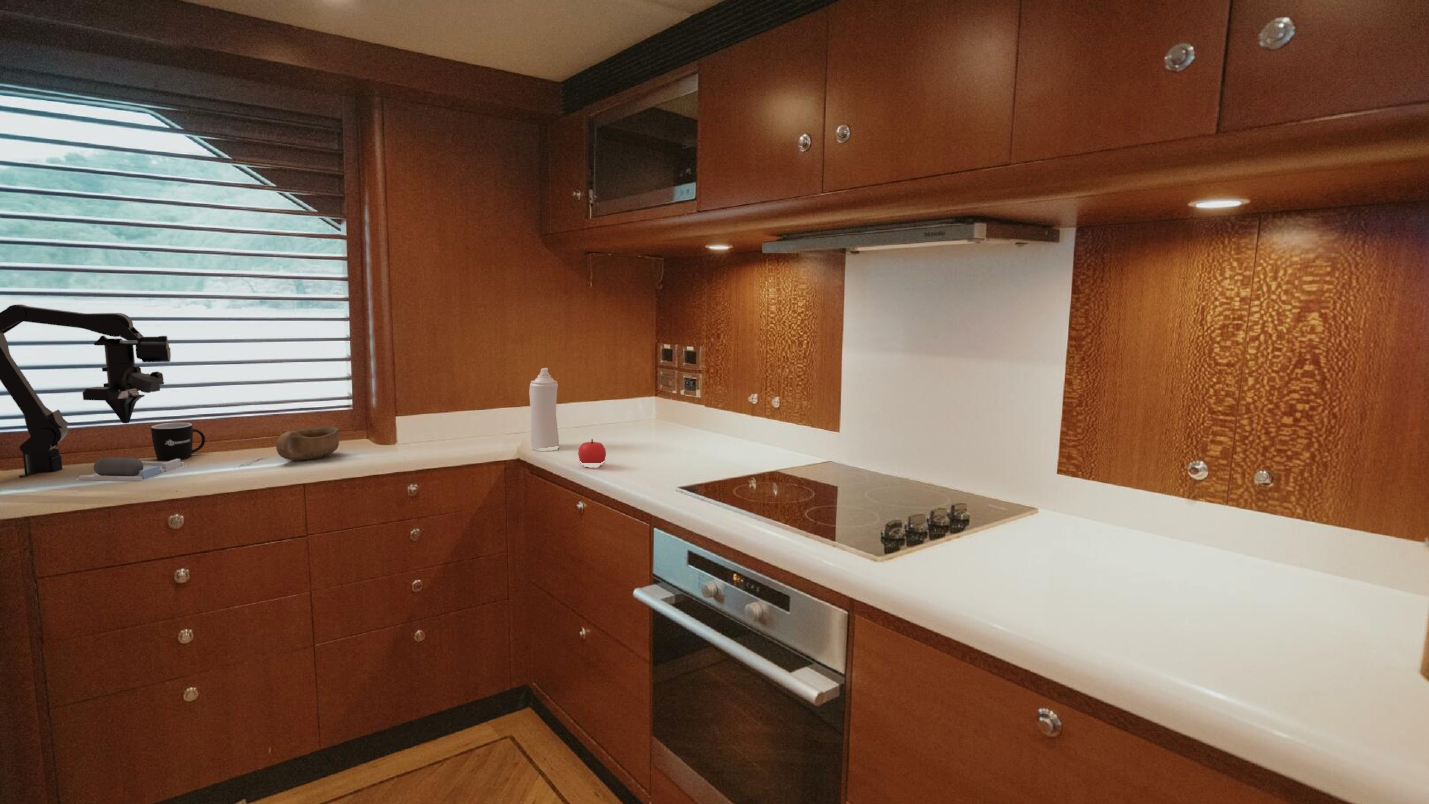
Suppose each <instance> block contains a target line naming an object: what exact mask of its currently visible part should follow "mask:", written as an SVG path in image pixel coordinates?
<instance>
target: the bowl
mask: <svg viewBox="0 0 1429 804" xmlns="http://www.w3.org/2000/svg"><path fill="white" fill-rule="evenodd" d="M339 432H340V429H339V428H338V427H337V426H317V427H316V426H314V427H309V428H303V429H296V430H288V431H285V432H284V433H281V434H280V435H279V436H278V438H277V440H276V444H275V445H276V446H275V447H276V448H275V449H276V451H277V454H278V456H280V457H281V458H283V459H285V460H290V461H291V460H292V461H297V460H298V461H302V460H303V461H304V460H315V459H321V458H325V457H326V456H328V455H331V454H333V453H334V452H335V451H336V450H337V449H338V448H339V445H340V443H339V442H340V441H339Z"/></svg>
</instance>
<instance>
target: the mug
mask: <svg viewBox="0 0 1429 804" xmlns="http://www.w3.org/2000/svg"><path fill="white" fill-rule="evenodd" d="M150 432H151V433H150V435H151V440H152V445H153V449H154V454H155V456H156V457H155V458H156V459H157V460H158V462H168V461H171V460H175V459H180V461H182V460H183V461H184V460H187V459H190V458H191V456H192V455H193V453H196V452H198V451H200V450H201V449H202V448H203V447H204V445H205V443H206V438H205V435H204V433H203V432H202V431H201V430H199V429H197V428H193V424H192V423H190V422H167V423H160V424H159V423H158V424H155V425H152V426H151V427H150ZM194 433H198V435H200V437H201V442H200V444H199V445H198V446H197V447H195V448H194V449H193V444H194V443H193V442H194V441H193V440H194V439H193V437H194Z"/></svg>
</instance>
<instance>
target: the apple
mask: <svg viewBox="0 0 1429 804" xmlns="http://www.w3.org/2000/svg"><path fill="white" fill-rule="evenodd" d="M577 453H578V460H579V462H580V461H581V462H582V463H601V462H603V461H605V460H606V457H607V456H606V455H607V452H606V448H605V446H604V445H603V443H601V442H597V441H594V438H591V441H587V442H583V443H582V444H581V445H580V446H579V447H578V452H577ZM605 462H606V461H605Z"/></svg>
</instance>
